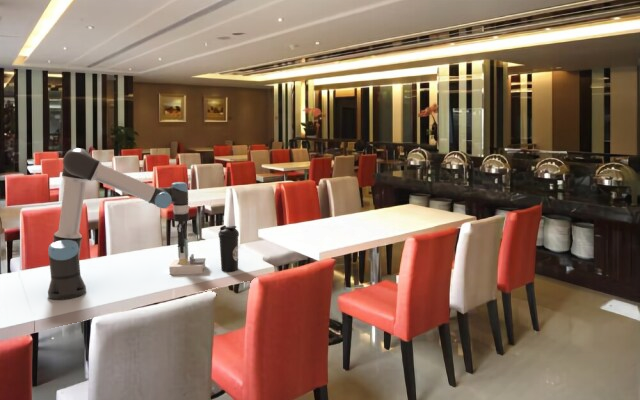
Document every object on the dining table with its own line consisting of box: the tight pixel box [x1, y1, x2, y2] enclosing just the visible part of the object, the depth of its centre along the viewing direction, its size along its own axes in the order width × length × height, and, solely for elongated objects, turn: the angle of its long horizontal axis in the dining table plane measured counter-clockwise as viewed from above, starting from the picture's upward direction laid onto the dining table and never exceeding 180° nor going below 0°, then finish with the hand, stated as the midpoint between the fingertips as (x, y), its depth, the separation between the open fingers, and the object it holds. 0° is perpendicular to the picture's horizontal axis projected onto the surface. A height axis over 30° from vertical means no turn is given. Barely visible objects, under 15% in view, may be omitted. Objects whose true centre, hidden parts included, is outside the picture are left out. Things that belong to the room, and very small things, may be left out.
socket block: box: [168, 258, 206, 275], centre depth 251 cm, size 16×12×4 cm
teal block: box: [177, 238, 189, 264], centre depth 250 cm, size 4×4×12 cm
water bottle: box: [218, 225, 240, 273], centre depth 251 cm, size 10×10×23 cm
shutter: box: [189, 253, 206, 264], centre depth 251 cm, size 7×7×3 cm
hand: (183, 257), depth 250 cm, fingers closed on teal block, 4 cm apart
